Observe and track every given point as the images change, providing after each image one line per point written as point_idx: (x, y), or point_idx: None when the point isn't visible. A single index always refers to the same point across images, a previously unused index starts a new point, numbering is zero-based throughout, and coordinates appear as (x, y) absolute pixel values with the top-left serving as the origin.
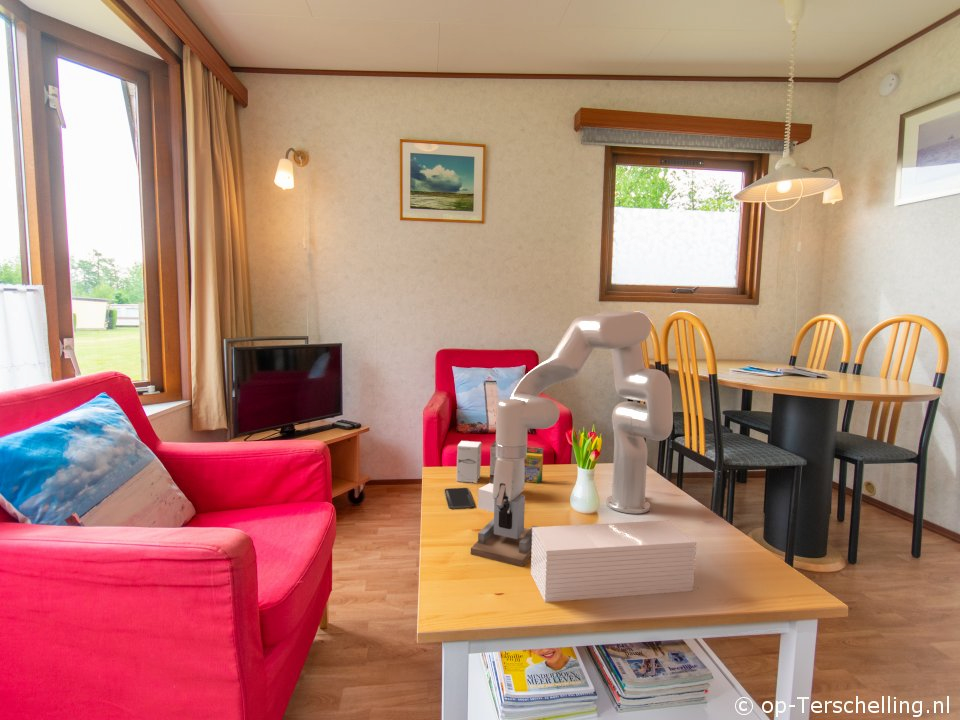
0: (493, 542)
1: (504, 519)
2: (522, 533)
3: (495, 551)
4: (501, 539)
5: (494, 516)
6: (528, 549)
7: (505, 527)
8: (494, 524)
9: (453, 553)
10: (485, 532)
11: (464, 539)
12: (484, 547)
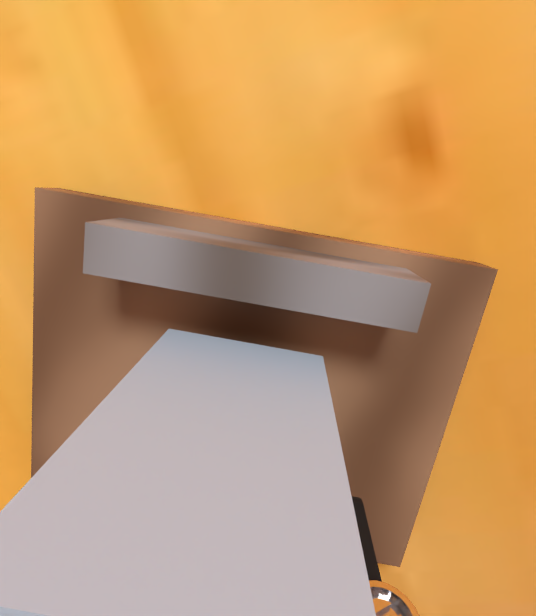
0: (166, 316)
1: None
2: (350, 461)
3: (60, 351)
4: None
5: (112, 396)
6: None
7: None
8: (141, 362)
9: (20, 71)
10: (117, 278)
11: (235, 81)
12: (79, 276)
